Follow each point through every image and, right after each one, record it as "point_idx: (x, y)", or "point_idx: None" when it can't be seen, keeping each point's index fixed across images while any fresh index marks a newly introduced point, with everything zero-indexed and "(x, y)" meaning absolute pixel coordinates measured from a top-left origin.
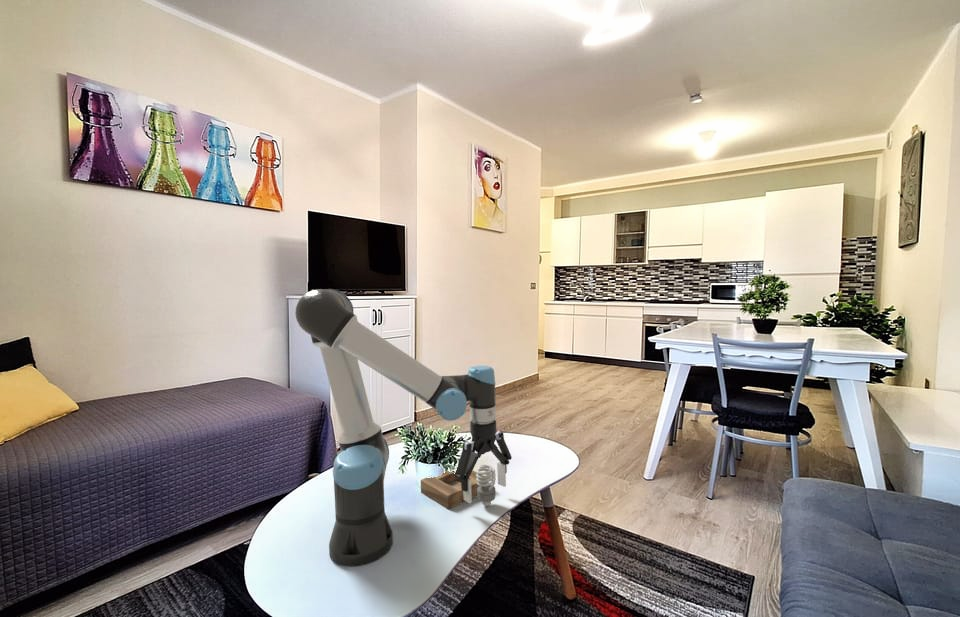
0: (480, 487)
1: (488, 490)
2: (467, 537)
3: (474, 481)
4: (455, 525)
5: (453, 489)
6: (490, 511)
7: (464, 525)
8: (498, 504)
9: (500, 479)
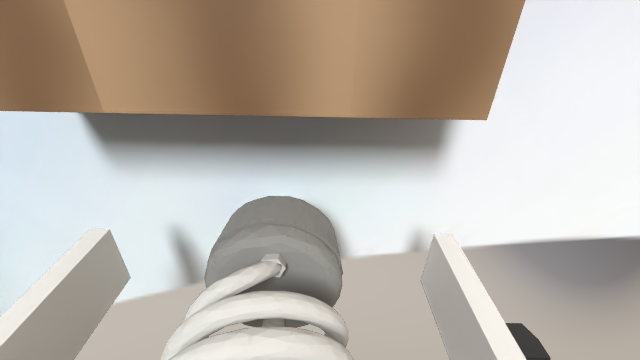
0: (241, 267)
1: (258, 320)
2: None
3: (339, 69)
4: (57, 225)
5: (54, 44)
6: None
7: None
8: (342, 231)
9: (443, 290)
